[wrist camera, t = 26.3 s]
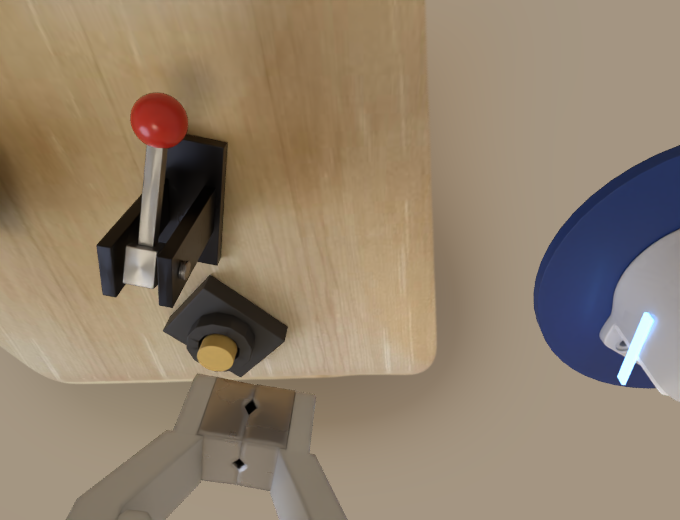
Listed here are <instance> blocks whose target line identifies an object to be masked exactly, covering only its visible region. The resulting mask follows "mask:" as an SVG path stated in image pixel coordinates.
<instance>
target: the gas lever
mask: <svg viewBox="0 0 680 520" xmlns="http://www.w3.org/2000/svg"><path fill="white" fill-rule="evenodd" d="M130 121H131V126H132V129H133V131H134V133H135V134H136V136H137V137H138V138H139V139H140V140H141V141H142V142H143V143H145V144H146V145H147V148H146V159H145V170H144V181H143V192H142V203H141V215H140V226H139V237H138V239H137V240H135V241H134V242H132V243H130V244H128V245H126V248H125V260H124V272H123V283H125V284H130V285H135V286H141V287H146V288H152V289H154V288H155V287H156V286H157V285H158V266H157V256H158V255H159V253H160V252H161V250H162V249H163V247H164V246H165V244H166V243H163V242H158V240H159V230H160V220H161V210H162V201H163V191H164V181H165V171H166V162H167V152H168V148H172V147H174V146H176V145H178V144H179V143H180V142H181V141H182V140H183V139H184V137H185V136H186V134H187V131H188V117H187V113H186V111H185V109H184V108H183V106H182V105H181V104H180V103H179V102H178V101H177V100H176V99H175V98H173V97H172V96H170V95H167V94H164V93H149V94H146V95H144V96H142V97H140V98H139V99H138V100H137V101H136V102H135V104H134V105H133V107H132V110H131V114H130Z"/></svg>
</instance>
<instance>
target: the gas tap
mask: <svg viewBox="0 0 680 520" xmlns="http://www.w3.org/2000/svg"><path fill="white" fill-rule="evenodd" d="M226 157H227V143H226V142H221V141H216V140H212V139H207V138H202V137H197V136H192V135H188V134H186V136H185V137H184V139H183V140H182V141H181V142H180V143H179V144H178V145H176V146H174V147H172V148H168V152H167V162H166V171H165V181H164V191H163V201H162V210H161V220H160V230H159V240H158V242H163V243H166V244H165V246H164V247H163V249H162V250H161V252H160V253H159V255H158V256H157V266H158V293H159V306H165V307H170V308H173V306H174V304H175V302H176V300H177V299H178V297H179V295H180V293H181V291H182V289H183V287H184V285H185V284H186V282H187V280H188V278H189V276H190V274H191V272H192V271H193V269H194V267H195V265H196V263H197V262H202V263H207V264H212V265H218V263H219V261H220V258H221V242H222V225H223V208H224V191H225V174H226ZM141 203H142V194H141V196H140V197H139V198H138V199H137V200H136V201H135V202H134V203H133V205H132V206H131V207H130V208H129V209H128V210H127V211H126V212H125V214H124V215H123V216H122V217H121V218H120V219H119V220H118V221H117V223H116V224H115V225H114V226H113V227H112V228H111V229H110V230H109V232H108V233H107V234H106V235H105V236H104V237H103V238H102V239H101V241H100V242H99V243H98V244H97V253H98V261H99V269H100V277H101V285H102V292H103V295H106V296H111V297H117V296H118V294H119V293H120V291H121V290H122V288H123V287H124V286H125V283H123V272H124V260H125V248H126V245H128V244H130V243H132V242H134V241H135V240H137V239H138V237H139V226H140V215H141Z"/></svg>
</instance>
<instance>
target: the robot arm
mask: <svg viewBox="0 0 680 520" xmlns="http://www.w3.org/2000/svg"><path fill="white" fill-rule="evenodd" d="M599 337H600V339H601V340H602V342H603V343H604V344H605V345H606V346H607V347H608V348H610V349H612V350H614V351H615V352H617V353H619V354H621V355H623V356H624V357H625V359H624V362H623V364H622V367H621V369H620V371H619V374H618V376H617V377H618V379H619V381H620V382H621V384H622V385H625V384H626V382H627V380H628V378H629V375H630V373H631V371H632V369H633V366H634V364H635V363H637V364H638V365H640V366H641V367H642V368H643V370H644V371H645V373H646V374H647V375H648V377H649V378H650V380H651V381H652V383H653V384H654V385H655V387H656V388H657V390H658V391H659V392H660V393H661V394H662V395H669V396H670V397H671V398H673V399H674V400H676V401H678V402H680V229H678V230H676V231H674V232H672V233H670V234H668V235H666V236H665V237H663V238H661V239H660V240H658V241H656V242H655V243H653V244H652V245H651V246H649V247H648V248H647V249H645V250H644V251H643V252H642V253H641V254H640V255H638V256H637V257H636V258H635V259H634V260H633V262H632V263H631V264H630V265H629V266H628V267H627V269H626V270H625V271H624V273H623V274H622V276H621V278H620V279H619V281H618V283H617V286H616V288H615V292H614V296H613V304H612V311H611V314H610V316H609V318H608V319H607V321H606V322H605V324H604V325H603V327H602V329H601V331H600V333H599ZM315 400H316V397H315V394H310V393H304V392H298V391H296V392H295V390H289V389H283V388H277V387H270V386H264V385H258V384H257V385H254V384H248V383H244V382H239V381H234V380H229V379H224V378H219V377H214V376H208V375H203V374H197V375H196V376H195V378H194V379H193V382H192V384H191V387H190V389H189V392H188V394H187V397H186V399H185V402H184V404H183V407H182V409H181V412H180V414H179V417H178V419H177V422H176V424H175V426H174V429H173V431H170V430H166V431H165V432H163V433H162V434H161V435H159V436H158V437H157V438H156V439H154V440H153V441H152V442H150V443H149V444H148V445H147V446H145V447H144V448H143V449H141V450H140V451H139V452H137V453H136V454H135V455H133V456H132V457H131V458H130V459H128V460H127V461H126V462H125V463H123V464H122V465H120V466H119V467H118V468H116V469H115V470H114V471H113V472H111V473H110V474H109V475H107V476H106V477H105V478H103V480H101V481H100V482H98V483H97V484H96V485H94V486H93V487H92V488H90V489H89V490H88V491H87V492H85V493H84V494H83V495H81V496H80V497H79V498H78V499H77V500H76V502H75V503H74V505H73V507H72V509H71V511H70V513H69V515H68V517H67V519H66V520H165V519H166V518H167V517H168V516H169V515H170V514H171V513H172V512H173V511H174V510H175V509H176V508H177V507H178V506H179V505H180V504H181V503H182V502H183V501H184V499H185V498H186V497H187V496H188V495H189V494H190V493H191V492H192V491H193V490H194V489H195V488H196V487H197V486H198V485H199V484H200V483H201V480H204V481H211V482H219V483H227V484H235V485H240V486H245V487H251V488H256V489H261V490H267V491H270V494H271V497H272V500H273V503H274V506H275V509H276V512H277V514H278V518H279V520H347V518H346V516H345V514H344V512H343V510H342V508H341V506H340V504H339V502H338V500H337V498H336V496H335V494H334V492H333V490H332V488H331V486H330V484H329V482H328V480H327V478H326V476H325V474H324V472H323V470H322V468H321V466H320V464H319V462H318V460H317V457H316V455H314V454H309V451H310V442H311V435H312V426H313V418H314V409H315Z"/></svg>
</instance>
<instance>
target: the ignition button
mask: <svg viewBox="0 0 680 520" xmlns="http://www.w3.org/2000/svg"><path fill="white" fill-rule="evenodd" d="M236 353H237V345H236V343H235V342H234V341H233V340H232V339H231V338H229V337H227V336H226V335H221V334H211V335H208V336H206V337H205V338H204V339H203V341H202V343H201V346H200V348H199V350H198V353H197V359H198V361H199V363H200V364H201V365H202V366H204V367H205V368H207V369H209V370H212V371H225V370H228V369H229V368H230V367H231V366H232V365H233V363H234V359H235V356H236Z"/></svg>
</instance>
